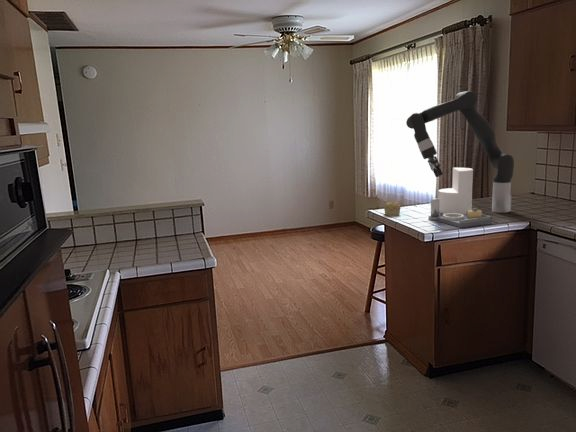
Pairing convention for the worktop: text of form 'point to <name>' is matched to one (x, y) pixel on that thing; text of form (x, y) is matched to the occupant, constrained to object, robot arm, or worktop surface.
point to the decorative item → (392, 208)
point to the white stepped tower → (457, 193)
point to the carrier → (466, 218)
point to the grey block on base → (434, 209)
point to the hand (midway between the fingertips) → (439, 176)
